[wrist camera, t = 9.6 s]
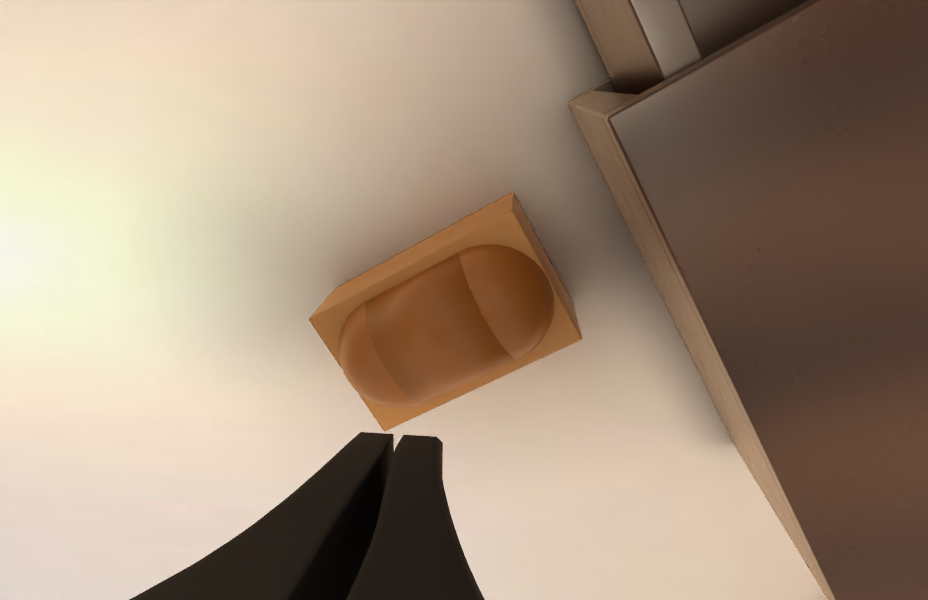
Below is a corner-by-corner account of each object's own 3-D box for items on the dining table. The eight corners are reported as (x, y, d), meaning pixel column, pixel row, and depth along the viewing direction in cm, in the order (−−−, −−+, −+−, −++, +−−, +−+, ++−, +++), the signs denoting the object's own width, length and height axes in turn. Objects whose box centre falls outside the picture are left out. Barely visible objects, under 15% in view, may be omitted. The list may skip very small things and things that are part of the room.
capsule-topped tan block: (400, 388, 22) (373, 459, 18) (335, 288, 21) (290, 338, 17) (573, 304, 21) (588, 361, 17) (512, 191, 20) (512, 221, 15)
